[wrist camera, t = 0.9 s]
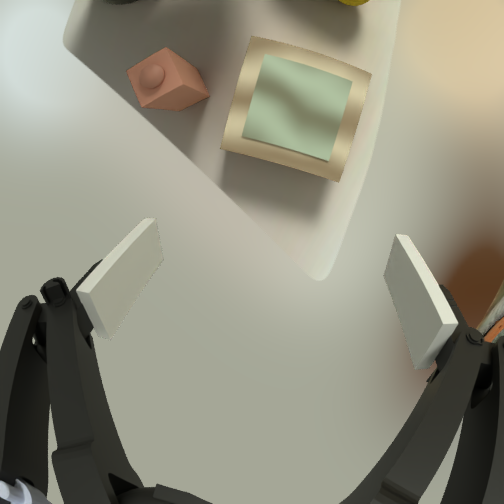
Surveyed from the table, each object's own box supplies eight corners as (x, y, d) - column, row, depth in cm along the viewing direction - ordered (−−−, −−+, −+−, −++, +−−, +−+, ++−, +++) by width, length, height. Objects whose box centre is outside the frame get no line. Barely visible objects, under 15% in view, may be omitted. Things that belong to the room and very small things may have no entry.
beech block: (254, 49, 28) (251, 35, 23) (356, 80, 29) (372, 73, 24) (227, 145, 34) (219, 149, 29) (328, 173, 35) (339, 182, 30)
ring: (452, 374, 54) (455, 380, 52) (499, 300, 43) (505, 306, 41) (498, 365, 55) (501, 370, 52) (537, 302, 43) (541, 307, 41)
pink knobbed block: (167, 84, 30) (123, 70, 19) (197, 68, 29) (163, 45, 18) (179, 111, 32) (138, 107, 21) (209, 96, 31) (181, 83, 20)
